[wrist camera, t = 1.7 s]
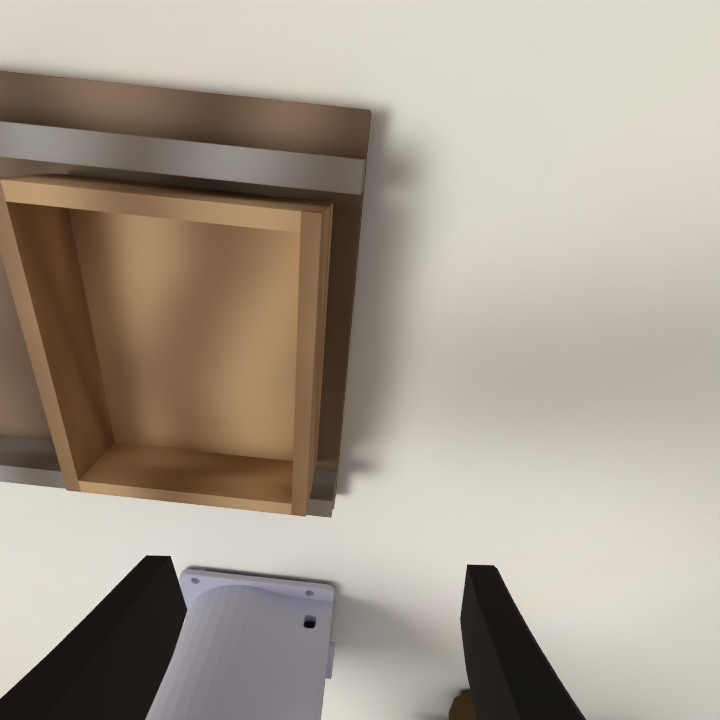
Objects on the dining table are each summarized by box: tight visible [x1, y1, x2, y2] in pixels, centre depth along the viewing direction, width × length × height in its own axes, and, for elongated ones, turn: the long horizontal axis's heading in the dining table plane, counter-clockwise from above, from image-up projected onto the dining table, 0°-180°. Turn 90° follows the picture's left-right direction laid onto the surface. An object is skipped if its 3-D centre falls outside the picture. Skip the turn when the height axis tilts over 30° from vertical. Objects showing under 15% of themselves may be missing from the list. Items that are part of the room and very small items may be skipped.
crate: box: [0, 173, 333, 516], centre depth 16 cm, size 10×12×3 cm
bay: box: [0, 71, 371, 517], centre depth 16 cm, size 26×18×6 cm
